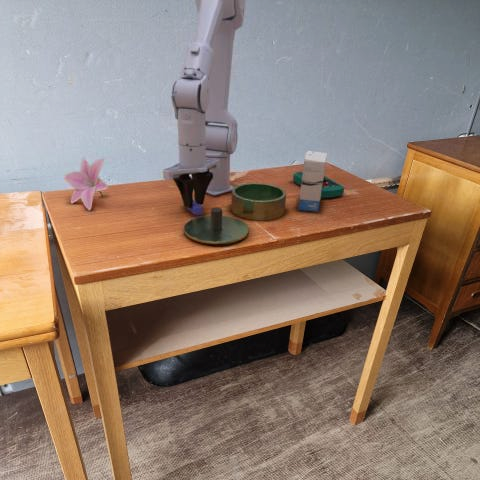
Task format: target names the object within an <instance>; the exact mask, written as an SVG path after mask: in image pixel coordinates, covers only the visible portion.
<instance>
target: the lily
mask: <svg viewBox="0 0 480 480" xmlns="http://www.w3.org/2000/svg"><path fill="white" fill-rule="evenodd" d="M104 163H105V158H104V157H100V158H99V159H96V160H95V161H93V162H92V163H91V164H89V162H88V160H87V159H86V158H85V157H84V156H83V158H82V159H81V162H80V168H79V171H78V170H76V171H71V172H68V173H66V174H64V175H63V180H64V181H65V182H66V183H67V185H69V186H70V187H71V188H73V189H74V191H73V193H72V195H71V199H70V204H74V203H75V202H77V201H79V200H81V202H82V204H83V205H84V207H85V208H86V209H87V211H91V209H92V206H93V199H94V196H95V192H98V193H100V195H101V197H102V198H104V195H103V193H102V191H104V190H107V189H109V185H107V183H106V182H105V181H103V180H102V179H101V178H100V174H101V170H102V168H103V165H104Z"/></svg>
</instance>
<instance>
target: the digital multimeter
mask: <svg viewBox="0 0 480 480" xmlns="http://www.w3.org/2000/svg"><path fill="white" fill-rule="evenodd" d="M302 175H303V170H302V171H297V172H294V173H293V176H292V181H293V182H294V183H295V184H297V185H298V186H300V187H301V183H302ZM344 191H345V187H344V186H343V185H342V184H340V183H338V182H336V181H335V180H333V179H331V178H329V177H327V176H325V175H324V180H323V186H322V192H321V198H320V200H322V199H331V198H338V197H342V196H343V195H344Z"/></svg>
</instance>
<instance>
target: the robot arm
mask: <svg viewBox="0 0 480 480" xmlns="http://www.w3.org/2000/svg"><path fill="white" fill-rule="evenodd" d="M194 2H195V3H194V4H195V7H196V10H197V13H198V18H197V22H196V30H195V36H194V42H192V43H190V44H189V45H188V46H187V48H186V52H185V56H184V60H183V64H182V68H181V72H180V76H179V78H178V79H177V80H175V81H173V84H172V88H171V97H170V98H171V104H172V107H173V110H174V118H175V120H177V139H178V143H177V144H178V163H176V164H174V165H172V166H170V167H167V168H163V169H162V176H163V178H162V179H164V180H166V181H168V182H170V181H173V182H174V183H175V185H176V187H177V189H178V192H179V194H180V197H181V199H182V203H183V206H184V207H185V208H186V207H187V208H192V205H193V200H194V201H196V202H197V203H198V204H199V205H200V206H203V205H204V202H205V198H206V194H207V195H208V194H209V195H211V196H219V195H222V194H226V193H230V192H232V189H233V188H234V187H235V186H234V185H231V184H230V178H231V177H230V174H231V155H234V153H235V151H236V150H237V146H238V140H239V139H238V138H239V137H238V135H239V133H238V121H237V119H236V118H235V117H234V116H233V115H232V114H231V113H230V112H229V111H228V106H229V97H230V84H231V75H232V74H231V73H232V72H231V71H232V65H233V64H232V62H233V53H234V52H233V51H234V41H235V36H236V31H237V30H238V29H240V28H241V27H243V23H244V19H245V9H246V0H194ZM190 175H191V176H190ZM193 198H194V199H193ZM187 208H186V209H187Z"/></svg>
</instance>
